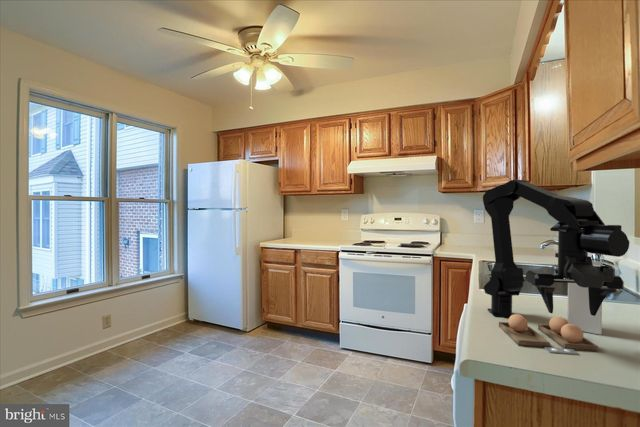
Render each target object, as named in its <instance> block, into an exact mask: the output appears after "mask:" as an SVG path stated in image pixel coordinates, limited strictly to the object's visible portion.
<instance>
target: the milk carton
mask: <svg viewBox="0 0 640 427" xmlns="http://www.w3.org/2000/svg"><path fill="white" fill-rule="evenodd" d="M592 264H593V266H599V267H600V266H603V261H600V260H592ZM566 320H567V321H568V322H569V324H574V325H576V326H578V327H579V328H580V329H581V330H582V332H583V333H585V332H586V333H589V334H595V335H602V333H603V332H602V330H603V329H602V328H603V326H602V325H603V321H602V320H603V302H602V303H601V305H600V307H599V309H598V311H597V313H596V315H595V316H593V315H591V314H590V309H589V293H588V287H587V288H584V287H580V286H578V285H577V284H576V283H567V319H566Z"/></svg>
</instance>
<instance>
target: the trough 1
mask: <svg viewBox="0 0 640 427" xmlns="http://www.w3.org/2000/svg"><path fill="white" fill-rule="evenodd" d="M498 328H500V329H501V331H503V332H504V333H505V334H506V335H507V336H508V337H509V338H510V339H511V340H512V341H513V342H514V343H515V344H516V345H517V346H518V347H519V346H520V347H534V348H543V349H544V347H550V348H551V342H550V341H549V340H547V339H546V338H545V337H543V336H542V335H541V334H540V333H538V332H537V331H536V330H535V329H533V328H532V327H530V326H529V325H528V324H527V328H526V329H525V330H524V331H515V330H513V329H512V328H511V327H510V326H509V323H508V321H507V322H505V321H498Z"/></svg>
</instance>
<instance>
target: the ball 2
mask: <svg viewBox="0 0 640 427" xmlns="http://www.w3.org/2000/svg"><path fill="white" fill-rule="evenodd" d="M567 320H568V319H566V318H565V317H563V316H553V317H552V318H550V320H549V324H548V325H549V326H550V328H551V330H552V331H554V332H555V333H557V334H561V328H562V327H563V326H564V325H566V324H569V322H568V321H567Z"/></svg>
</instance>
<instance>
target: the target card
mask: <svg viewBox="0 0 640 427" xmlns="http://www.w3.org/2000/svg"><path fill="white" fill-rule="evenodd" d="M543 349H544V350H546V351H547V352H548V353H549V354H561V355H562V354H563V355H573V356H579V355H580V353H579V352H577V350H573V349H564V348H563V347H561V348H560V347H551V346H550V347H544V348H543Z"/></svg>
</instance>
